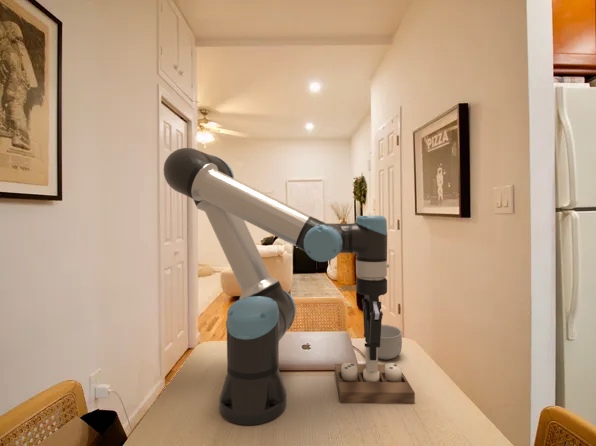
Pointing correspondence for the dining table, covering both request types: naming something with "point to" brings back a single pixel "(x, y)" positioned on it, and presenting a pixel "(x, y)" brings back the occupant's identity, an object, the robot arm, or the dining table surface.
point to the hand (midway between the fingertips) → (371, 370)
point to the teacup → (390, 342)
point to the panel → (373, 388)
